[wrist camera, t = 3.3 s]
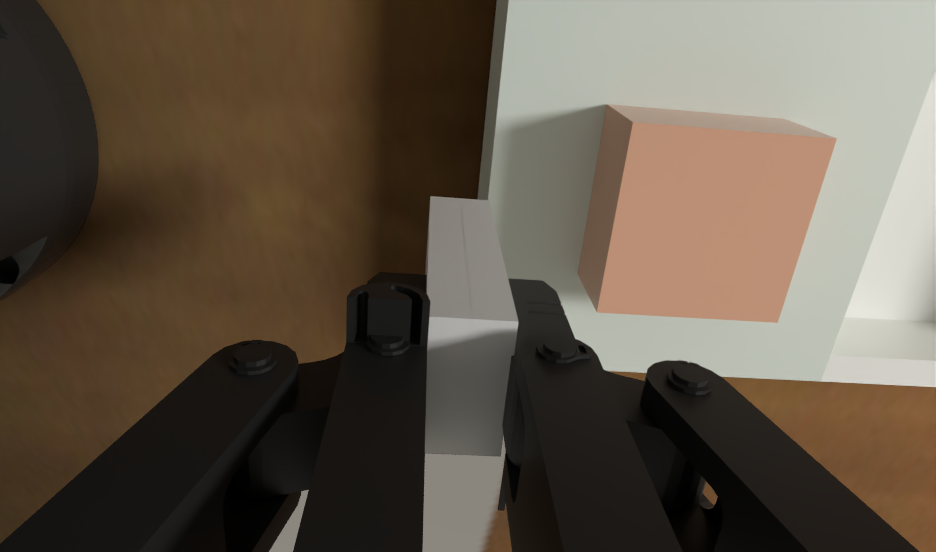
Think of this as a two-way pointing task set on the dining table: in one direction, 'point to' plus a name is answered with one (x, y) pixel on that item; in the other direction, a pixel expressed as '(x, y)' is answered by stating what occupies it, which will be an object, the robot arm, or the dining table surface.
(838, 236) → the white flat block
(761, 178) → the tile
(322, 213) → the dining table surface
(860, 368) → the box
